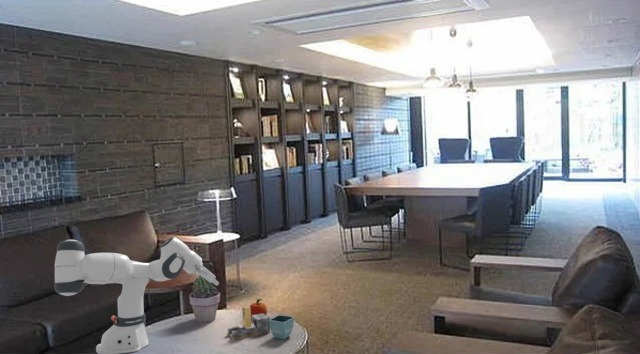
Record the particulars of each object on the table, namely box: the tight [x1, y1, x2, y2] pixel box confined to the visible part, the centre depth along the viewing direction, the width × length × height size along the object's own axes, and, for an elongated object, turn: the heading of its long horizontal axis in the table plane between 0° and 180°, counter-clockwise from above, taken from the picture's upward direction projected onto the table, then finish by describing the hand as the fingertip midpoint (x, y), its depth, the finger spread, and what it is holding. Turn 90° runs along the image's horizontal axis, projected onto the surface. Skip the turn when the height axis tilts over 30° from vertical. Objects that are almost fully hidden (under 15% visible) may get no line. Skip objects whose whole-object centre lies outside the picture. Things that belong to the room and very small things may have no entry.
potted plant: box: [188, 274, 222, 323], centre depth 286 cm, size 18×20×25 cm
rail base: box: [227, 313, 271, 341], centre depth 265 cm, size 18×8×7 cm, turn 119°
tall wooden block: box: [241, 305, 257, 330], centre depth 266 cm, size 10×3×12 cm, turn 119°
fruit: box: [249, 298, 268, 319], centre depth 286 cm, size 10×10×10 cm
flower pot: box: [269, 314, 295, 340], centre depth 259 cm, size 9×9×9 cm
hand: (214, 281), depth 255 cm, fingers open, 8 cm apart
